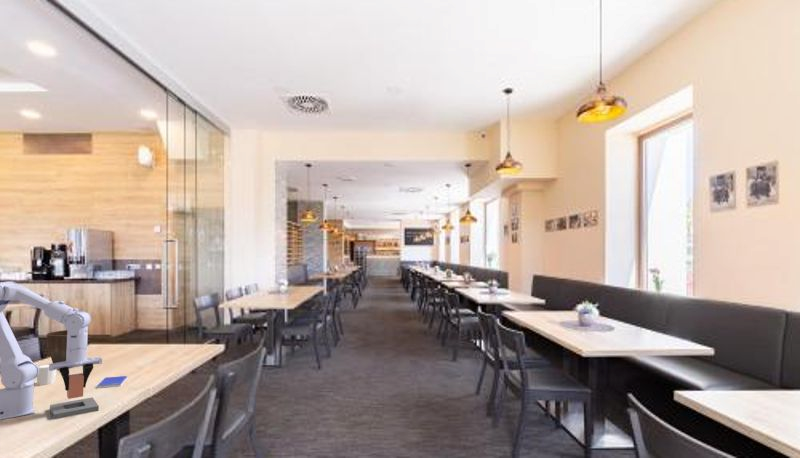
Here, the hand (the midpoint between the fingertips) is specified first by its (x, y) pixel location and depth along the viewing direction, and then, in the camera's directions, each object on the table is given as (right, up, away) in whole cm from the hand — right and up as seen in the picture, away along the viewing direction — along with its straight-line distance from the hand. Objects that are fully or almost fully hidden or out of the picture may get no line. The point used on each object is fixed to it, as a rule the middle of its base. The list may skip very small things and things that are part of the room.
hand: (75, 388), depth 151 cm
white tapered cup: (-34, -9, +30) cm, 46 cm away
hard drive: (-7, -10, +31) cm, 33 cm away
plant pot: (-45, -10, +55) cm, 72 cm away
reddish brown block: (0, -3, 0) cm, 3 cm away
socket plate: (0, -7, 0) cm, 7 cm away
